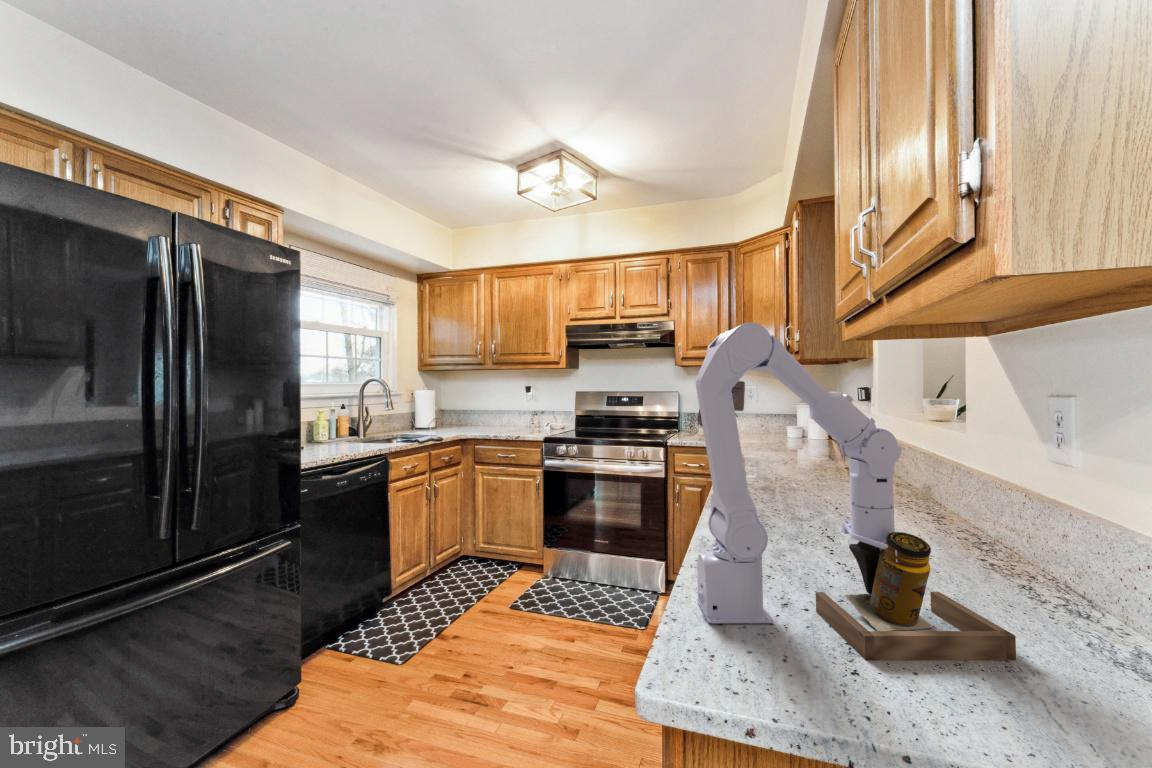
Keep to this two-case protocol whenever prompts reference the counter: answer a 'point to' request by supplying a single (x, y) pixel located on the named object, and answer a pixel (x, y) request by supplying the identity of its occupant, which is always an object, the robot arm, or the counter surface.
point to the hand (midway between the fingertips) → (874, 593)
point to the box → (924, 635)
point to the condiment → (897, 585)
